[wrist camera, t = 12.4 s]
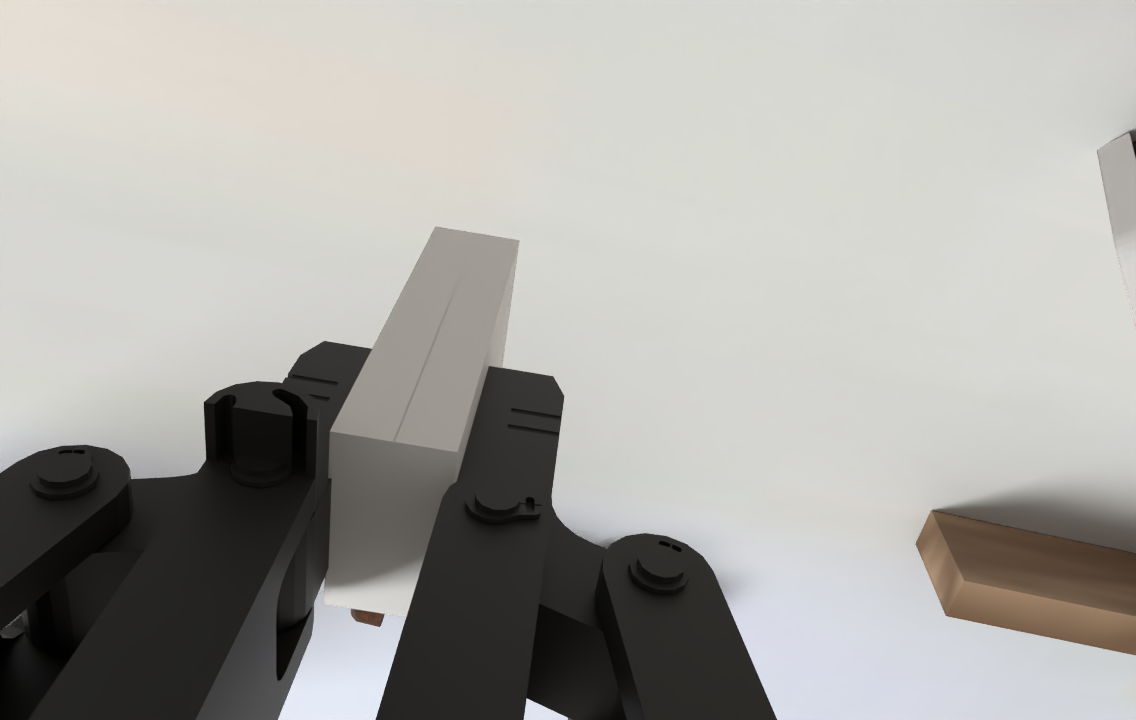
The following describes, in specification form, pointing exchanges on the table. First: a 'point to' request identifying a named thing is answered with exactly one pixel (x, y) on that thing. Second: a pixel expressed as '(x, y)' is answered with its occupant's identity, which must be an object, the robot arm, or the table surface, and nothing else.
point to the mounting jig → (1031, 581)
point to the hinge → (1122, 206)
